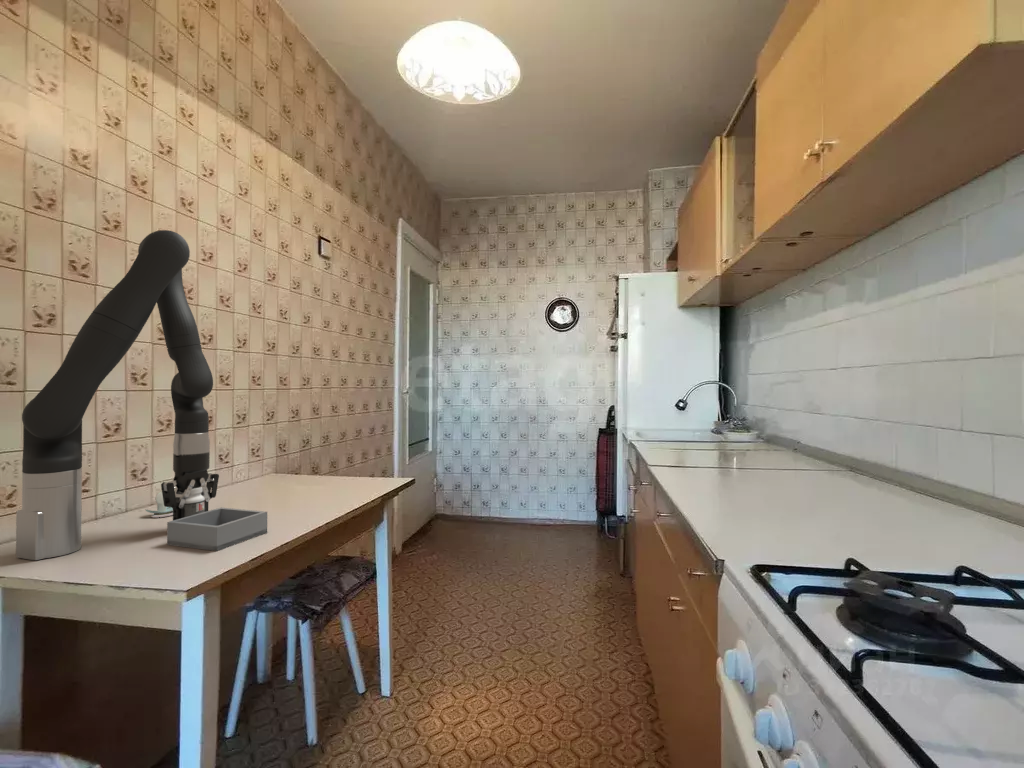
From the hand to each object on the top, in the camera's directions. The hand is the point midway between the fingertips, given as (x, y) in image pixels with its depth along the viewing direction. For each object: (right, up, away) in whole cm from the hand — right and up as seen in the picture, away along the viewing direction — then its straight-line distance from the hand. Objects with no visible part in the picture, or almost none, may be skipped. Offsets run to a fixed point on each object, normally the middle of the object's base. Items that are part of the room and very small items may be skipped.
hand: (191, 519), depth 122 cm
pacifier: (-16, -3, +13) cm, 21 cm away
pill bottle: (0, -2, 0) cm, 2 cm away
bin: (+11, -2, -8) cm, 14 cm away
